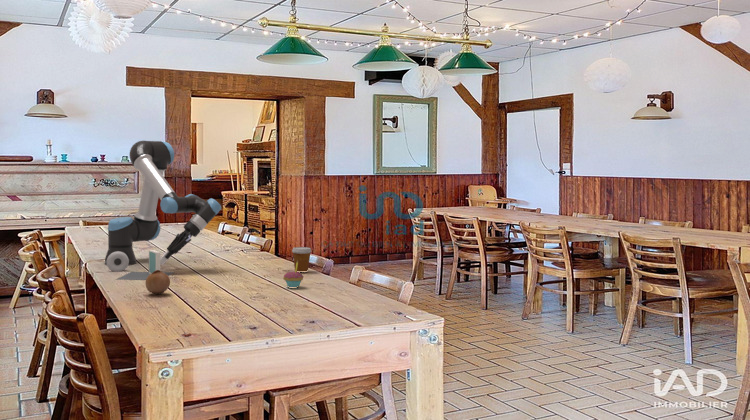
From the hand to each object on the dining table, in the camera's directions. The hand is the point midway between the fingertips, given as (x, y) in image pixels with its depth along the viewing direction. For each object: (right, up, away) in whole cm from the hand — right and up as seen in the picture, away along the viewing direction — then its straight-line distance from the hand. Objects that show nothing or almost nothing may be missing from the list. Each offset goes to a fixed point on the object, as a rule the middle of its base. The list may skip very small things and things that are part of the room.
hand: (160, 262), depth 320 cm
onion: (+13, -10, -44) cm, 46 cm away
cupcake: (+64, -9, -22) cm, 68 cm away
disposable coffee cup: (+63, -6, +20) cm, 67 cm away
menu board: (-2, -5, -1) cm, 6 cm away
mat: (-5, -6, -4) cm, 9 cm away
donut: (-22, -5, +7) cm, 24 cm away
